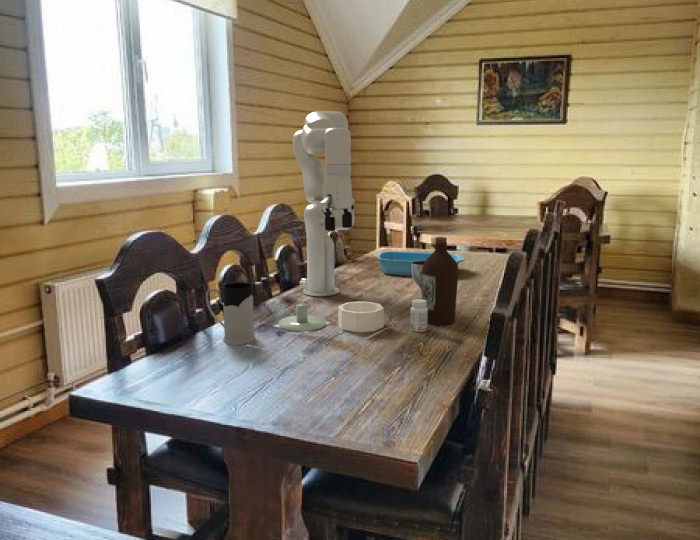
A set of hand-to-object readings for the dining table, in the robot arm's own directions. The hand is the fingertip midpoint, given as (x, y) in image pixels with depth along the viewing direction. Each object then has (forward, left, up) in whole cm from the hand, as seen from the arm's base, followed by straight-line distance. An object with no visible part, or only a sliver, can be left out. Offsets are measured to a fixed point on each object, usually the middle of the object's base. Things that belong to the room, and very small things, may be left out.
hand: (338, 229), depth 184 cm
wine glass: (+18, +21, -27) cm, 39 cm away
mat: (-3, -15, -27) cm, 31 cm away
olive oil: (+28, +11, -27) cm, 40 cm away
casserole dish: (-9, +72, -27) cm, 77 cm away
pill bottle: (+27, 0, -27) cm, 38 cm away
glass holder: (-12, -35, -27) cm, 46 cm away
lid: (-3, -15, -26) cm, 30 cm away
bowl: (+12, -7, -27) cm, 30 cm away
